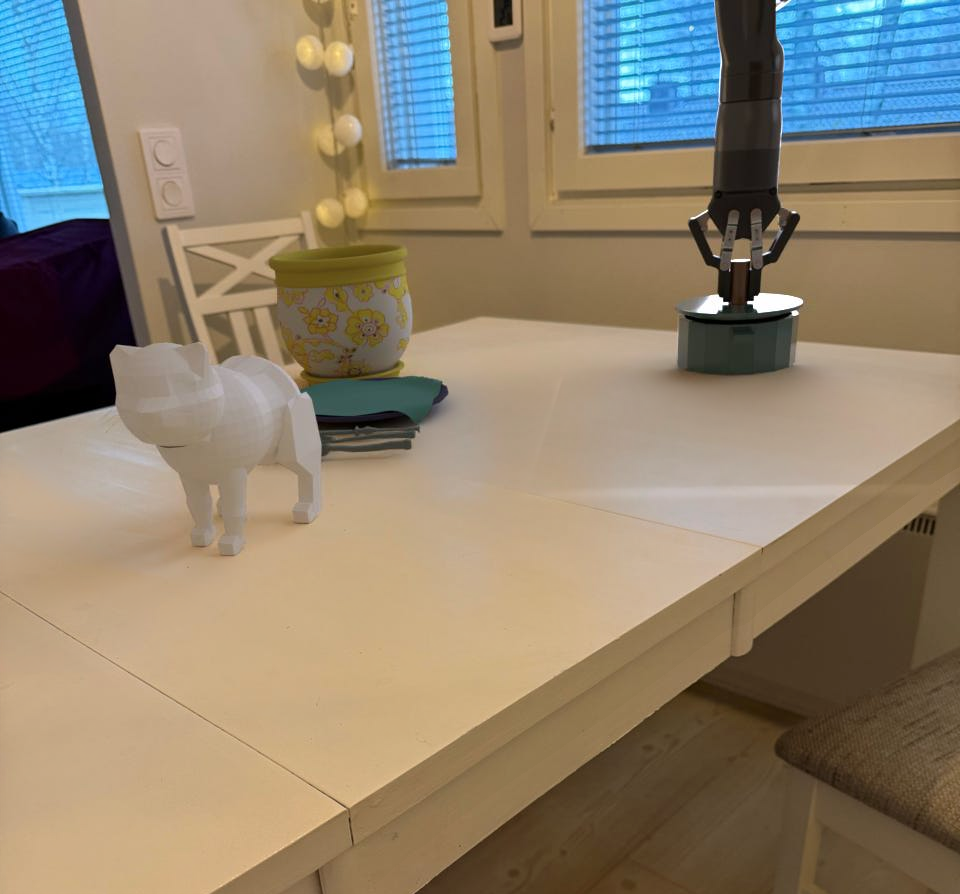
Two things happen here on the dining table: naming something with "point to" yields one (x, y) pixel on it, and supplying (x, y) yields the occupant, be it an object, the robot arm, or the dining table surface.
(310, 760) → the dining table surface
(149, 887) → the dining table surface
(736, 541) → the dining table surface
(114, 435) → the dining table surface
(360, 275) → the flowerpot
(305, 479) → the cat figurine
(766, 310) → the cover
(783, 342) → the tin
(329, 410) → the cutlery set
